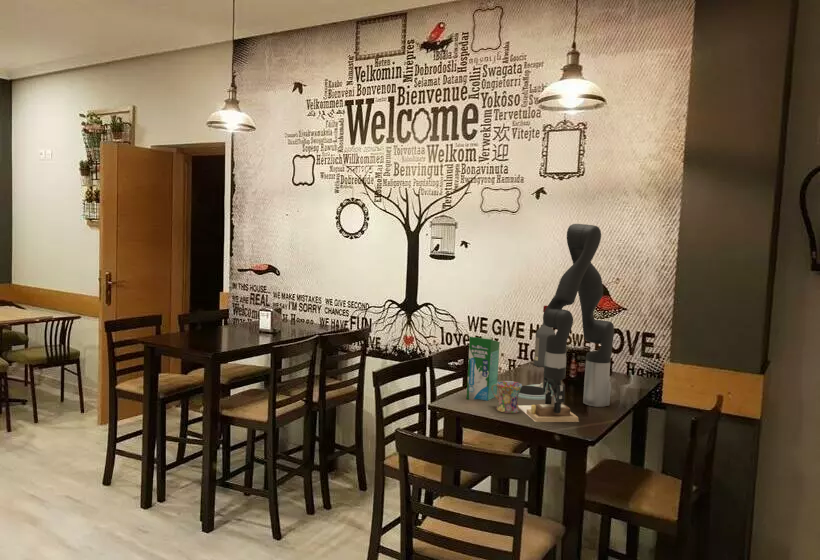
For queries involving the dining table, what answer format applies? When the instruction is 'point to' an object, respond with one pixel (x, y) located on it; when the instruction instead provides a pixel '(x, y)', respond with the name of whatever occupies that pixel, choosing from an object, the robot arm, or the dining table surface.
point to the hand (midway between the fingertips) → (552, 409)
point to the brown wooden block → (551, 410)
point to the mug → (508, 396)
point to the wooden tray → (531, 412)
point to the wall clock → (532, 392)
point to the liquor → (541, 343)
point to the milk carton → (482, 368)
